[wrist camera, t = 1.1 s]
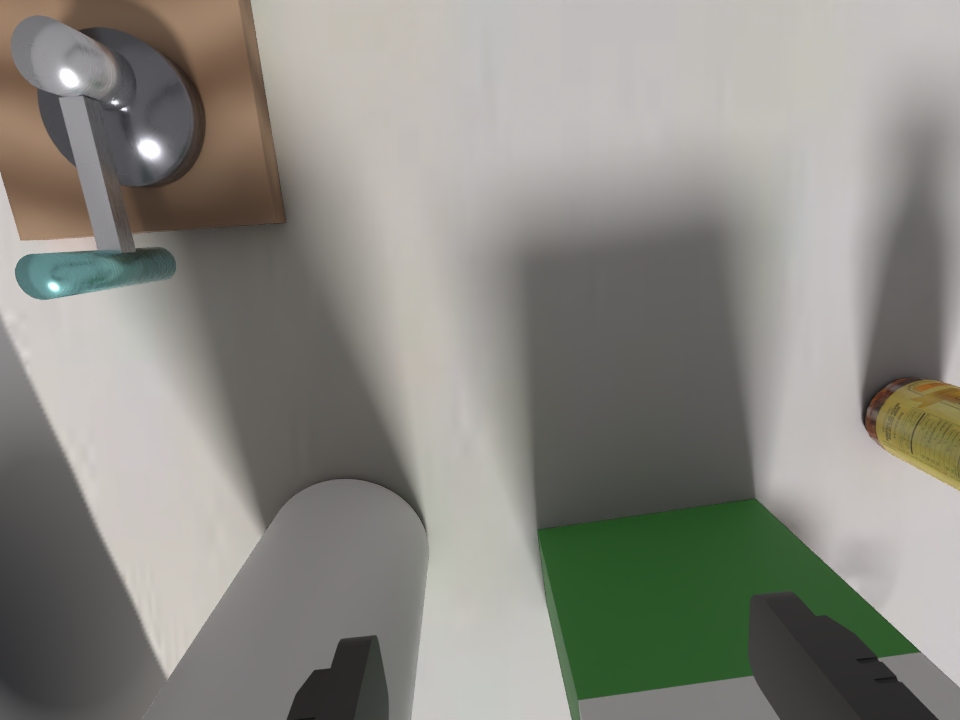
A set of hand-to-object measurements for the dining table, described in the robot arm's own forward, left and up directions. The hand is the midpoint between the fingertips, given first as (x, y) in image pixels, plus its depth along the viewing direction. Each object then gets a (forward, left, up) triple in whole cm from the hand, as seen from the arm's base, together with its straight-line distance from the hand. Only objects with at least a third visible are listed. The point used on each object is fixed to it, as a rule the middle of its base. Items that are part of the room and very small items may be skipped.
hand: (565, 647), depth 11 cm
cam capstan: (-14, -20, -24) cm, 34 cm away
